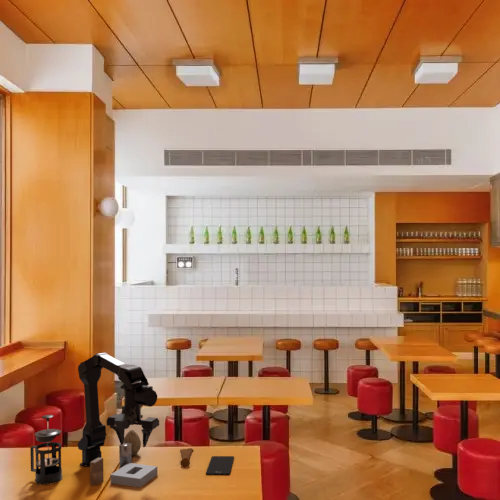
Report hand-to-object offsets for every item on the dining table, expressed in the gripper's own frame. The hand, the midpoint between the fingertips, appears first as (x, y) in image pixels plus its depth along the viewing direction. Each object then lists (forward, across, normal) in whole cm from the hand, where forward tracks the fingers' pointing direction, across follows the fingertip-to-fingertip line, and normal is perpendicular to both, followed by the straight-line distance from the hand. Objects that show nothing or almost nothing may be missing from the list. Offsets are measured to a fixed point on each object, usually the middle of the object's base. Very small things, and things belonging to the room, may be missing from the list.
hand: (133, 445), depth 208 cm
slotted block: (+12, 0, 0) cm, 12 cm away
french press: (+12, -30, -10) cm, 34 cm away
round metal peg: (+12, -10, +10) cm, 18 cm away
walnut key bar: (+12, -11, -7) cm, 18 cm away
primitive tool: (+13, +8, +25) cm, 29 cm away
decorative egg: (+12, -14, +21) cm, 28 cm away
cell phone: (+13, +25, +21) cm, 35 cm away
